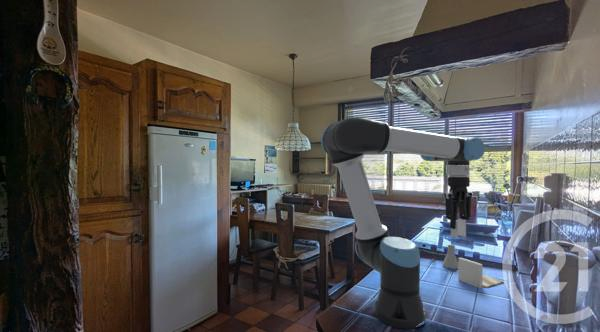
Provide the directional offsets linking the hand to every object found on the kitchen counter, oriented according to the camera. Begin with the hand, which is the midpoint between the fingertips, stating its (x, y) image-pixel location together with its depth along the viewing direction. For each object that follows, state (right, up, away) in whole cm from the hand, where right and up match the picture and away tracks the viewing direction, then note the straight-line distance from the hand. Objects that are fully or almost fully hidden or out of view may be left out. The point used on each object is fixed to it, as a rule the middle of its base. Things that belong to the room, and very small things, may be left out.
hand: (458, 236), depth 112 cm
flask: (+9, -20, +22) cm, 31 cm away
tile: (+6, -20, +3) cm, 21 cm away
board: (+13, -20, +6) cm, 24 cm away
